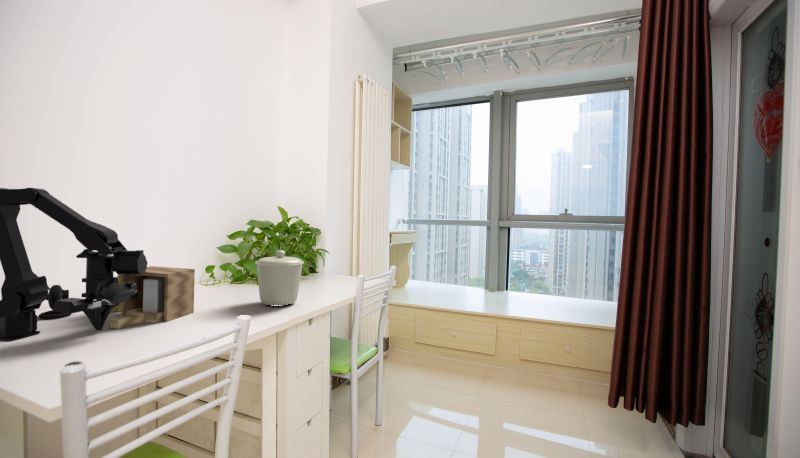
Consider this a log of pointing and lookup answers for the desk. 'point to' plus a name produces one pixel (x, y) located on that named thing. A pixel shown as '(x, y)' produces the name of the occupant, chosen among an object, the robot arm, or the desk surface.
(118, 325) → the wooden tray with handle
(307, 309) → the desk surface
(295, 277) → the canister
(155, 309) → the skincare box
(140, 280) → the wooden open box
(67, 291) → the webcam
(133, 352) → the desk surface
